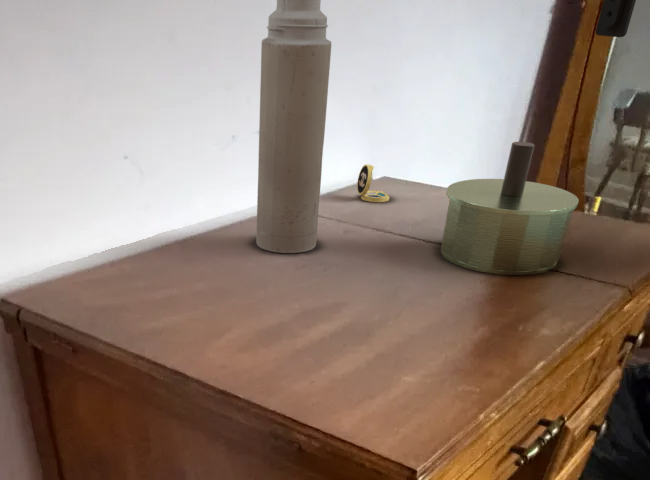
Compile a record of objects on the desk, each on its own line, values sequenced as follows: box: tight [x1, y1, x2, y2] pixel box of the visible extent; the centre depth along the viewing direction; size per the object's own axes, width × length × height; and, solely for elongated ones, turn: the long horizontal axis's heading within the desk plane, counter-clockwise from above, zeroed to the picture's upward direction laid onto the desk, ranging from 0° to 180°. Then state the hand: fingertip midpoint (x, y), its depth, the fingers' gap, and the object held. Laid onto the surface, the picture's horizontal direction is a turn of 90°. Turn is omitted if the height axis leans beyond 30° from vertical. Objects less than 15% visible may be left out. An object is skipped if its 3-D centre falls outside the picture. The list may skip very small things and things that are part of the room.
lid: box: [445, 141, 580, 216], centre depth 87 cm, size 16×16×7 cm
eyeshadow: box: [356, 164, 390, 203], centre depth 113 cm, size 4×5×5 cm
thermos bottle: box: [255, 0, 332, 254], centre depth 87 cm, size 8×8×28 cm
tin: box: [440, 198, 574, 276], centre depth 91 cm, size 15×15×7 cm
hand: (638, 34), depth 75 cm, fingers open, 9 cm apart
